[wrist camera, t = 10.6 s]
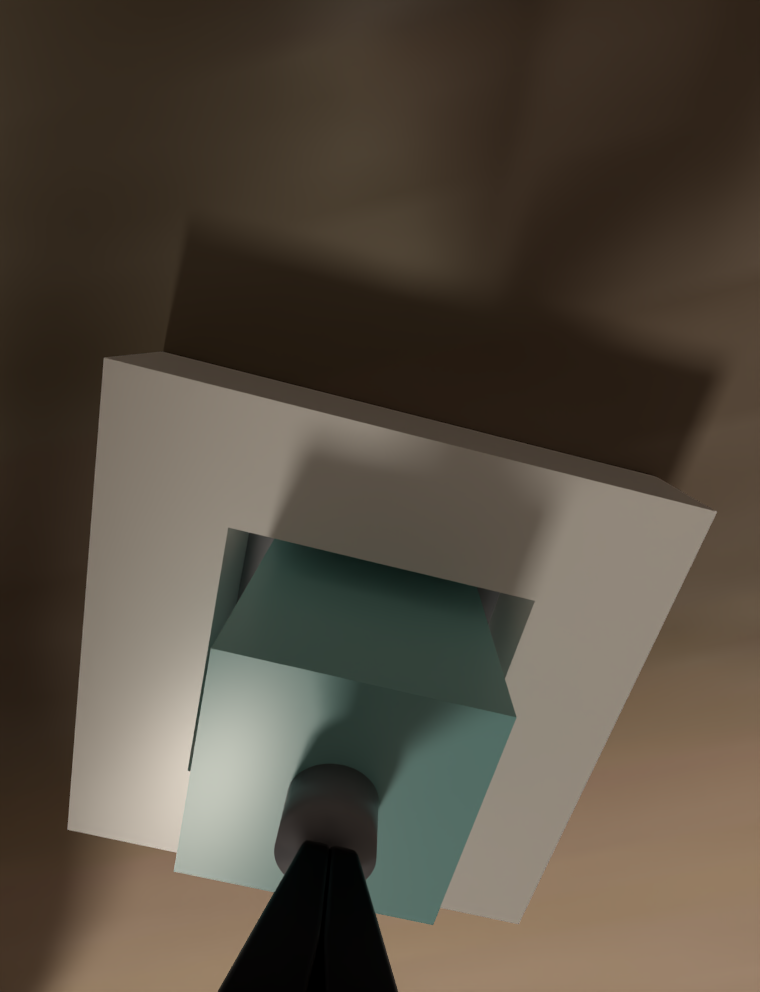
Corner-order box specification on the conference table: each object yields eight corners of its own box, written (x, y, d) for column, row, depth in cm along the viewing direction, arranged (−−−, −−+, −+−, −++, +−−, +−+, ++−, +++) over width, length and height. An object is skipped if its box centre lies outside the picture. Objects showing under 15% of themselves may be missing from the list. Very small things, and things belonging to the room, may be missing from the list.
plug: (421, 731, 15) (436, 987, 9) (247, 692, 14) (149, 930, 9) (473, 576, 13) (531, 767, 7) (279, 529, 13) (186, 690, 7)
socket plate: (500, 836, 16) (518, 924, 14) (117, 753, 16) (67, 829, 13) (656, 476, 13) (717, 511, 10) (161, 351, 12) (103, 357, 10)
